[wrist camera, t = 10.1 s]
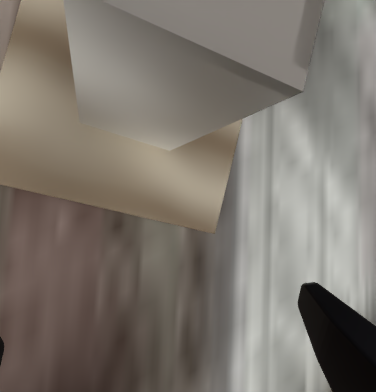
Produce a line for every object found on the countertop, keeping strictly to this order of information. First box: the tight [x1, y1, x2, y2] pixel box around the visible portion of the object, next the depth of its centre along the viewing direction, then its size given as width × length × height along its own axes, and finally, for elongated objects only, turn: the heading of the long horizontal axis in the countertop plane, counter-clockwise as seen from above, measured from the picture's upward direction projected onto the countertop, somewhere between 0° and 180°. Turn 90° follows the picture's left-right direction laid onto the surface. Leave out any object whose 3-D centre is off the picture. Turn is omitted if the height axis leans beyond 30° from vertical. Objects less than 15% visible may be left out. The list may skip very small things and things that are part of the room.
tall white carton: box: [63, 0, 324, 151], centre depth 12 cm, size 5×5×12 cm
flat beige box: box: [0, 0, 242, 234], centre depth 15 cm, size 14×14×5 cm
